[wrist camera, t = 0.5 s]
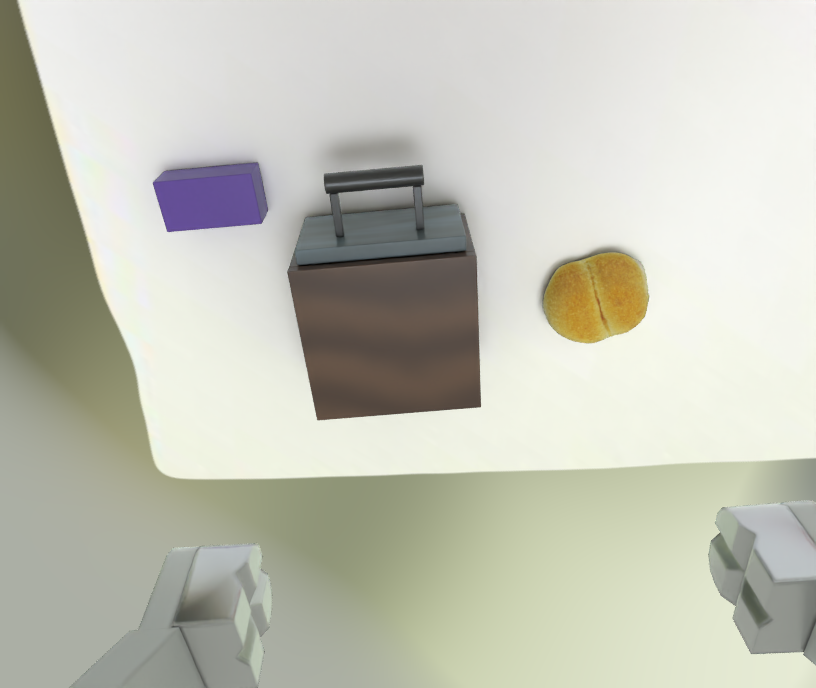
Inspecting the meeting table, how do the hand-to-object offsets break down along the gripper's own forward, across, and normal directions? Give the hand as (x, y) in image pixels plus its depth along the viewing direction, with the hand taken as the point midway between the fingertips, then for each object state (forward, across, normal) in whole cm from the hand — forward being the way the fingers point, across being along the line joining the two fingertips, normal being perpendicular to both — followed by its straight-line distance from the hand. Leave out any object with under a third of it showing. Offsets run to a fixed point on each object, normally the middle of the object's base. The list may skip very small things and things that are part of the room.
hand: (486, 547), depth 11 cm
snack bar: (+43, +16, +6) cm, 46 cm away
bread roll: (+43, -15, +18) cm, 49 cm away
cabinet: (+43, +3, +16) cm, 46 cm away
